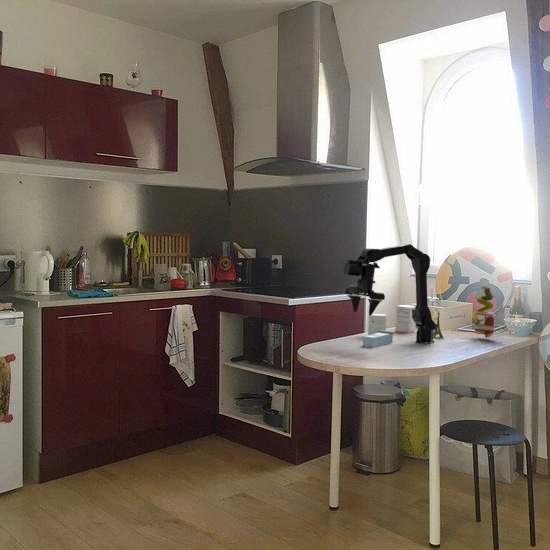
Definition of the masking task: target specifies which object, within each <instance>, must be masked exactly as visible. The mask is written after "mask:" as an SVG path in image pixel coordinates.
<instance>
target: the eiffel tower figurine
mask: <svg viewBox="0 0 550 550" xmlns="http://www.w3.org/2000/svg"><path fill="white" fill-rule="evenodd" d="M436 325H437V326H436V329H435V330H434V332H433V340H437V341H448V339H447V338H445V337H444V336H443V334H442V331H441V327H440V312H437V321H436ZM437 335H439V336H437ZM449 340H450V341H452V340H454V338H452V339H451V338H449Z"/></svg>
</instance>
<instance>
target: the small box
mask: <svg viewBox="0 0 550 550" xmlns="http://www.w3.org/2000/svg"><path fill="white" fill-rule="evenodd" d="M367 325H368V326H367V336H368V335H372V334H376V333H380V332H378V330H385V331H387V314H385V313H384V314H383V313H372V315H369V314H368V324H367Z"/></svg>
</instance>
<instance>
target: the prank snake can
mask: <svg viewBox="0 0 550 550" xmlns="http://www.w3.org/2000/svg"><path fill="white" fill-rule="evenodd" d="M480 289H481V290H484V291H483V292H484V295H478V296H477V297H476V301H477V302H478V303H479V304H481V305H483V306H482V307H479V308H477V309H475V310H474V311H473V312H472V314H471V320H472V322H473V323H474V326H473V327H474V334H477V335H485V336H484V337H485V338H491V336H493V335H494V330H495V325H494V324H495V317H493V316H492V315H490V314H487V313H488V312H487V310H490V309H492V308H494V304H493V303H492V302H490V301H491V300H493V298H494V296H493V294H492V293H491V289H490V287H488V285H483V284H482V285H481V286H480Z"/></svg>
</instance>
